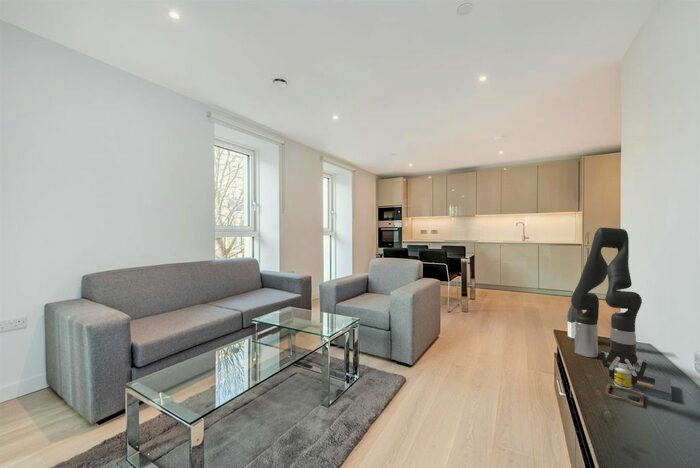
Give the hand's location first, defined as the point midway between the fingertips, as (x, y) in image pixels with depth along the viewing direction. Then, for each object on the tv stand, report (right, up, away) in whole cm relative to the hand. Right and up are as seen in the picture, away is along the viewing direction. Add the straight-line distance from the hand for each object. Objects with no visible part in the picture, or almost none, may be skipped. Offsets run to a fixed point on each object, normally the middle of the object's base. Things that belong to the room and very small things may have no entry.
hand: (622, 381), depth 116 cm
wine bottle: (+28, -5, +59) cm, 66 cm away
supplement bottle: (0, -2, 0) cm, 2 cm away
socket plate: (+15, -6, +7) cm, 18 cm away
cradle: (0, -6, 0) cm, 6 cm away
